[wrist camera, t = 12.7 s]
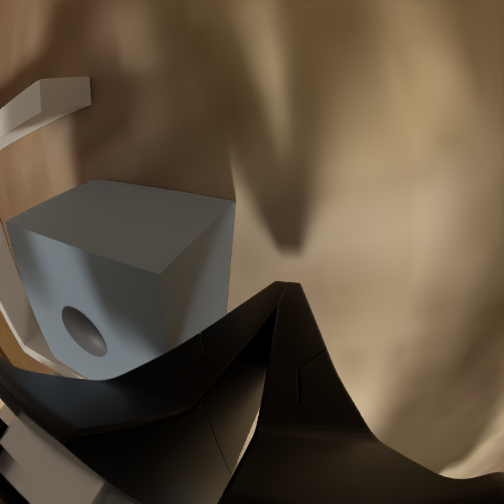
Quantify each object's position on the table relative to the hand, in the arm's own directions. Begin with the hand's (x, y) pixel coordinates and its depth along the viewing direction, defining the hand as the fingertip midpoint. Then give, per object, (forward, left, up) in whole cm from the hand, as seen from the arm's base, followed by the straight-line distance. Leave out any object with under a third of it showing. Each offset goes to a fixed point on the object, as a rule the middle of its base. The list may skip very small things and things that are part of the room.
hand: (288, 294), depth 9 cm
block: (+5, 0, -1) cm, 5 cm away
